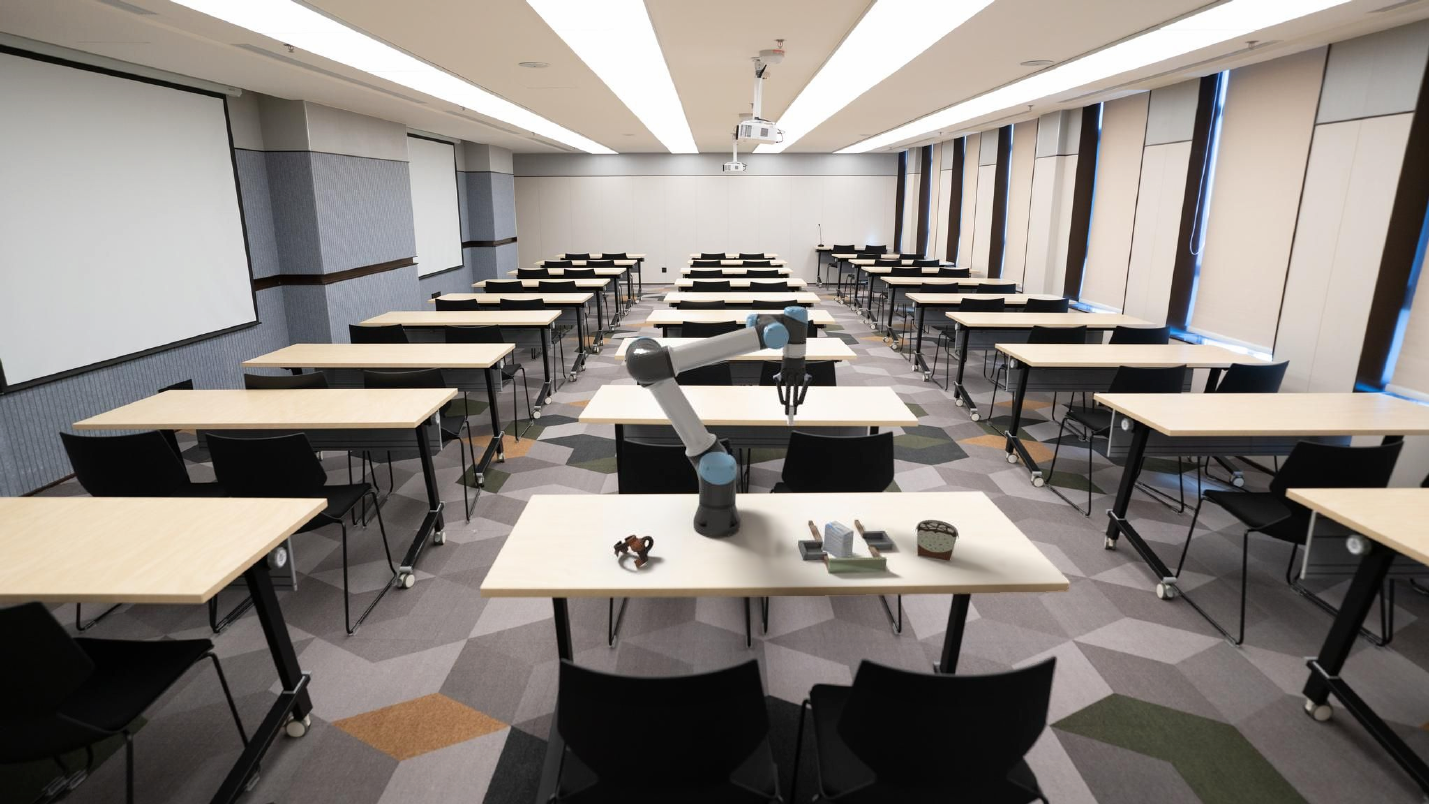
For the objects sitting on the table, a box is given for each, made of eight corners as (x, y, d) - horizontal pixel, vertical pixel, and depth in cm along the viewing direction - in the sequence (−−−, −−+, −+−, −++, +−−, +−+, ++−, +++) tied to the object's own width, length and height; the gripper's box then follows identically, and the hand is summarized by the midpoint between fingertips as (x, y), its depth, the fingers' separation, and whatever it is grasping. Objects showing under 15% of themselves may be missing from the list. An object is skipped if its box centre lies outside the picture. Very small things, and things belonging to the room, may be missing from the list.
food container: (955, 552, 205) (959, 523, 202) (955, 562, 199) (959, 532, 196) (913, 545, 209) (916, 516, 206) (912, 555, 203) (915, 525, 200)
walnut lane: (808, 524, 221) (808, 513, 219) (857, 523, 222) (858, 512, 220) (828, 573, 193) (829, 560, 192) (885, 571, 194) (886, 559, 193)
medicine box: (852, 556, 202) (854, 530, 199) (841, 561, 199) (843, 534, 197) (833, 545, 208) (835, 520, 205) (822, 549, 205) (824, 523, 203)
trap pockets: (794, 538, 212) (795, 532, 211) (884, 536, 214) (884, 530, 213) (803, 560, 199) (803, 554, 198) (897, 558, 201) (898, 552, 200)
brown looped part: (630, 574, 192) (616, 548, 191) (618, 572, 200) (606, 548, 199) (664, 551, 198) (651, 526, 197) (651, 551, 206) (639, 527, 205)
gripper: (811, 352, 223) (807, 420, 230) (772, 352, 222) (769, 420, 229) (816, 358, 216) (811, 428, 223) (775, 357, 215) (772, 428, 222)
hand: (790, 424), depth 226 cm, fingers closed
